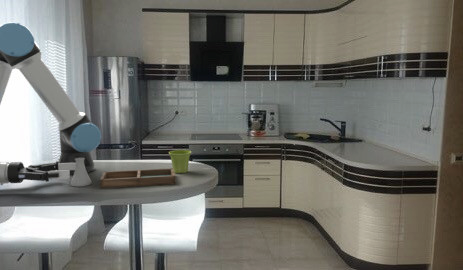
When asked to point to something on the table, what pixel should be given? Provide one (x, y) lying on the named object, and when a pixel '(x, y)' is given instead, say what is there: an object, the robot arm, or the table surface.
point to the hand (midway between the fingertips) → (73, 169)
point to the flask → (80, 174)
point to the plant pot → (180, 160)
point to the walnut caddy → (137, 178)
